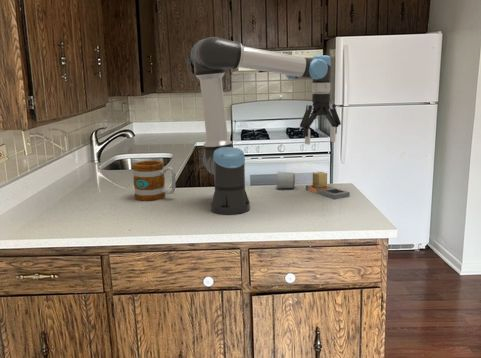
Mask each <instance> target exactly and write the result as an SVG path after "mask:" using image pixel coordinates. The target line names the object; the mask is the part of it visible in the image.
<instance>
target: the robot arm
mask: <svg viewBox="0 0 481 358" xmlns="http://www.w3.org/2000/svg"><path fill="white" fill-rule="evenodd" d="M190 59H191V63H192V65H193V66H194V75H195V77H196V78H197V79H199V83H200V92H201V99H202V109H203V118H204V119H203V120H204V128H205V136H206V137H205V138H206V140H205V142H204V143H203V151H204V153H203V156H202V163H203V166H204V168H205V169H206V170H207V172H208V173H209V174H211V175H214V177H213V178H214V193H213V196H212V199H211V201H210V211H212V212H213V213H215V214H220V215H239V214H243V213H246V212H249V211H250V210H251V209H250V208H251V203H250V199H249V196H248V194H247V191H246V176H245V174H246V173H245V171H246V169H245V166H246V163H245V162H246V160H245V159H246V158H245V153H244V150H242V149H241V148H238V147H235V146H234V147H233V142H232V140H230V139H229V137H228V136H229V135H228V127H227V125H228V124H227V115H226V109H225V98H224V90H223V89H224V88H223V79H222V78H223V77H224V76H225V74H226V69H230V70H238V69H239V68H242V69H243V68H244V69H250V70H255V71H262V72H265V73H266V72H268V73H275V74H279V75H280V74H281V75H285V76H286V79H288V80H311V81H312V83H311V84H312V87H311V89H312V90H311V92H312V95H311V100H312V102H311V103H312V105H309V104H307V105H306V106H305V111H304V114H303V117H302V119H301V121H300V124H299V128H301V129H303V137H304V144H305V145H308V146H309V145H311V129H310V127H311V126H312V124H313V123H314V121H315V120H316V118H317V117H318V116H325V118H326V119H327V121H328V122H329V123H330V125H331V126H330V128H329V129H330V130H329V132H330V133H329V142H332V143H336V135H337V133H338V132H337V131H338V128H339V126H341V125H342V122H341V120H340V117H339V115H338V112H337V108H336V104H334V103H330V102H331V94H330V92H331V78H332V77H331V76H332V75H331V74H332V73H331V72H332V63H331V62H332V60H331V56H330V55H314V56H313V57H312V58H310V57H304V56H299V55H294V54H290V53H288V54H287V53H284V52H277V51H272V50H271V51H270V50H267V49H266V50H265V49H260V48H256V47H249V46H245V45H243V44H242V43H241V42H238V41H234V40H233V41H232V40H229V39H225V38H222V37H217V36H209V37H206V38H203V39H200V40H198V41H197V42H196V43H195V44H194V46H192V48H191V52H190Z"/></svg>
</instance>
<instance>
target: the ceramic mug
mask: <svg viewBox="0 0 481 358" xmlns="http://www.w3.org/2000/svg"><path fill="white" fill-rule="evenodd" d="M295 178H296V175H295V173H294V172H288V171H287V172H284V171H277V174H276V189H279V190H280V189H289V190H291V189H294V188H295V185H296V182H295V181H296V180H295Z"/></svg>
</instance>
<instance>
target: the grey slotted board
mask: <svg viewBox="0 0 481 358" xmlns="http://www.w3.org/2000/svg"><path fill="white" fill-rule="evenodd" d="M305 190H306V191H308V190H309V192H311V193H315V194H318V195H320V196H323V197H327V198H329V197H330V198H329V199H333V200H337V199H342V198H343V199H344V198H348V197H349V198H350V196H351V195H350V193H351V192H349V191H346V190H342V189H340V188H336V187H333V186H330V185H327V187H325V188H319V189H317V188H314V187H313V184H308V185H305Z"/></svg>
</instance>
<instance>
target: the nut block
mask: <svg viewBox="0 0 481 358" xmlns="http://www.w3.org/2000/svg"><path fill="white" fill-rule="evenodd" d="M312 185H313V187H314V188H317V189H319V188H325V187H327V186H328V173H326V172H324V171H317V172H313V173H312Z"/></svg>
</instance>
